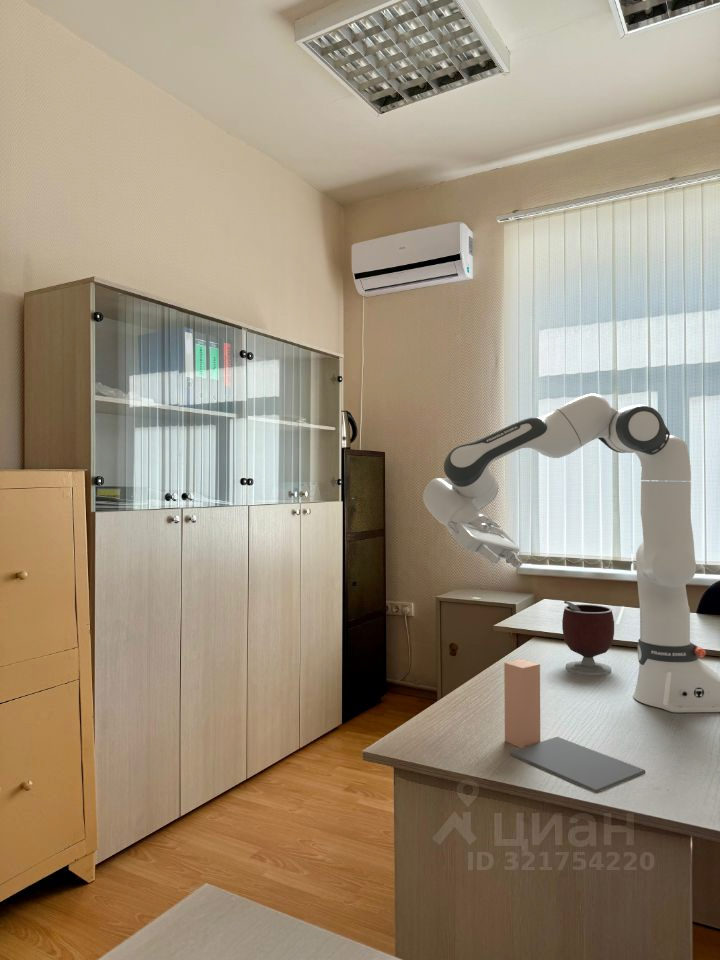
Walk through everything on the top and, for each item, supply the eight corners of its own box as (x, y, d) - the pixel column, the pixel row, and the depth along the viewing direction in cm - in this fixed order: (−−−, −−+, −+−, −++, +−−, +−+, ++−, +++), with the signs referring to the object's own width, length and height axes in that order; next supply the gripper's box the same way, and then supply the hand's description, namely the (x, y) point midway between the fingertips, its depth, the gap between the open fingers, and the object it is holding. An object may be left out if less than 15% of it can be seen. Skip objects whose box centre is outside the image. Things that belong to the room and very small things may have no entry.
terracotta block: (504, 740, 141) (504, 662, 141) (521, 735, 144) (521, 659, 144) (523, 748, 137) (522, 668, 137) (540, 743, 140) (539, 664, 140)
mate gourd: (588, 660, 204) (587, 592, 204) (625, 671, 191) (625, 599, 191) (547, 667, 197) (547, 596, 197) (584, 679, 184) (583, 604, 184)
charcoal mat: (509, 754, 134) (509, 752, 134) (557, 739, 142) (557, 736, 142) (596, 792, 118) (596, 789, 118) (645, 772, 126) (645, 769, 126)
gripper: (452, 509, 157) (491, 546, 148) (500, 522, 172) (538, 557, 163) (436, 531, 159) (474, 569, 150) (486, 542, 173) (523, 578, 164)
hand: (508, 563), depth 156 cm, fingers open, 8 cm apart
